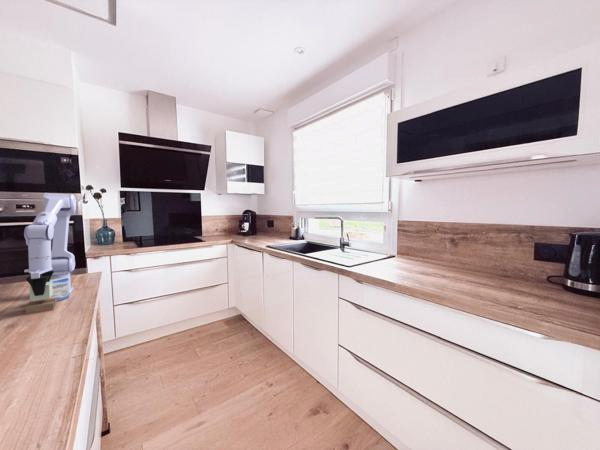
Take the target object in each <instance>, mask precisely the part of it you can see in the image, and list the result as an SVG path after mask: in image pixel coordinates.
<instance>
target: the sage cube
mask: <svg viewBox="0 0 600 450" xmlns="http://www.w3.org/2000/svg"><path fill="white" fill-rule="evenodd" d="M52 295H53V285H52V282H46V286H45V291H44V294H43V295H39V296H35V295H34V292H33V290H32V287H31V285H30V286H29V302H30V301H34V300H40V299H47V298H50V297H51V296H52Z"/></svg>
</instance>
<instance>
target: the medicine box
mask: <svg viewBox="0 0 600 450" xmlns="http://www.w3.org/2000/svg"><path fill="white" fill-rule="evenodd" d="M50 282H52V285H53V295H52V296H51V297H50V298H56V303H57V302H60V301H64V300H67V299H70V294H69V278H64V277H61V278H56V279H52V280H50ZM47 299H49V298H47ZM40 300H41V299H40Z"/></svg>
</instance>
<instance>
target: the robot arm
mask: <svg viewBox="0 0 600 450" xmlns="http://www.w3.org/2000/svg"><path fill="white" fill-rule="evenodd" d="M41 200H42V201H41V202H42V205H43V207H44V208H43V211H41V212H39V213H37V215H36V217H35V218H34V219H33V222H32V224H29V225H26V226H25V228H24V232H23V236H24V239H25V244H26V246H28V247H27V249H28V252H27V253H28V269H24V270H23V271H24V273H29V274H30V276H27V277H25V280H26V282H27V283H28V284H29V285H30V286H31V287H32V290H33V292H34V295H35V296H39V295H43V294H44V291H45V286H46V282H50V280H52V279H56V278H61V277H64V278H69V295H71V293H72V291H73V290H74V286H72V287H71V284H72V283H71V273H72V272H73V271H74V270H75V269H76V268H75V267H76V259H75V255H74V254H73V252H70V251H68V238H69V225H70V218H71V216H72V215H74V214H76V211H77V197H76V195H74V194H73V193H70V194H68V193H67V194H66V193H48V192H45V193H44V194H43V195H42V197H41Z"/></svg>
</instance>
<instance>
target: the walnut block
mask: <svg viewBox="0 0 600 450" xmlns="http://www.w3.org/2000/svg"><path fill="white" fill-rule="evenodd" d="M56 306H57V302H56V298H49V299H41V300H32V301H30V300H29V301H28V303H27V304H26V305H25V315H31V314H38V313H44V312H49V311H54V310H55V308H56Z"/></svg>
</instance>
